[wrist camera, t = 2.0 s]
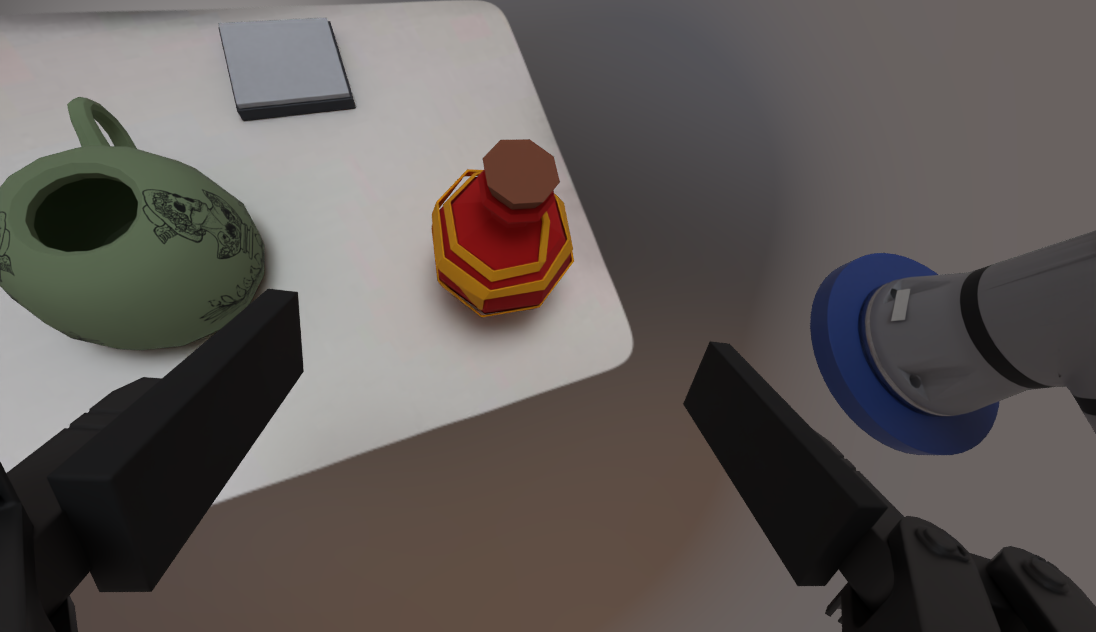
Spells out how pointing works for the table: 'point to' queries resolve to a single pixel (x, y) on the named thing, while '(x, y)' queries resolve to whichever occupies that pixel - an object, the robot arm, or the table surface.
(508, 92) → the table surface
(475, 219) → the potion bottle
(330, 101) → the scale
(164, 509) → the robot arm
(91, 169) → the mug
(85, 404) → the table surface
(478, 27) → the table surface
